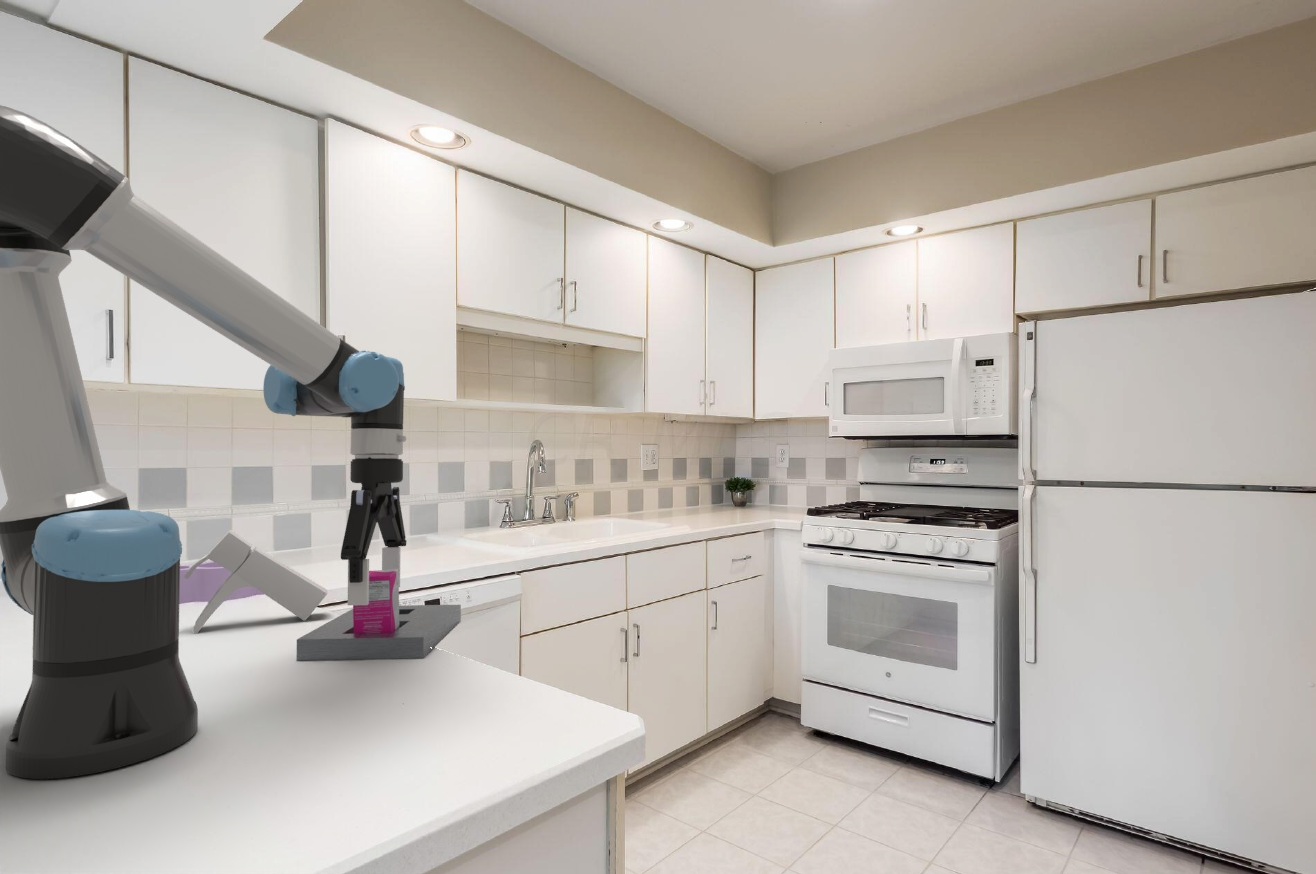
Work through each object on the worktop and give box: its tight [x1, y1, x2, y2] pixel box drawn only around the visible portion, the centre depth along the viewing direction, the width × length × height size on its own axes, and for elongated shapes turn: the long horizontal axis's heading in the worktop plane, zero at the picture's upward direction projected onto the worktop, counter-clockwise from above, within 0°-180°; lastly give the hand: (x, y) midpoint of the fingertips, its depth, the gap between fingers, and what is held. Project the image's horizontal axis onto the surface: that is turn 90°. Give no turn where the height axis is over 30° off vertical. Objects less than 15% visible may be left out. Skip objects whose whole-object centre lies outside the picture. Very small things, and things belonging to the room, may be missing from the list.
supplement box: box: [352, 569, 400, 634], centre depth 106 cm, size 6×6×12 cm
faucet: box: [184, 529, 328, 635], centre depth 121 cm, size 6×16×20 cm
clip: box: [179, 561, 265, 605], centre depth 146 cm, size 20×12×7 cm, turn 127°
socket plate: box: [296, 604, 462, 662], centre depth 111 cm, size 22×18×3 cm
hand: (375, 595), depth 106 cm, fingers open, 13 cm apart
